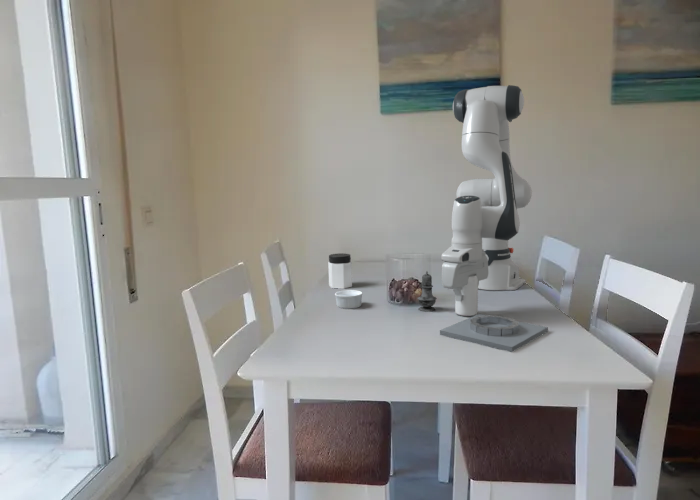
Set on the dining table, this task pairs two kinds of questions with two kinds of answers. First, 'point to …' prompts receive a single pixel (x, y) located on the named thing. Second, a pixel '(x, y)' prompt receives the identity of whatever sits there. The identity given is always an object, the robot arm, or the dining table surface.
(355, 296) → the ramekin
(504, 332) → the collar
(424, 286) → the salt shaker
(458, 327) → the board
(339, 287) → the jar
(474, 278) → the can
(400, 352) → the dining table surface
